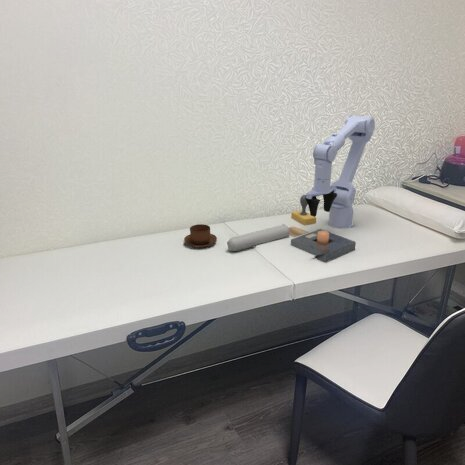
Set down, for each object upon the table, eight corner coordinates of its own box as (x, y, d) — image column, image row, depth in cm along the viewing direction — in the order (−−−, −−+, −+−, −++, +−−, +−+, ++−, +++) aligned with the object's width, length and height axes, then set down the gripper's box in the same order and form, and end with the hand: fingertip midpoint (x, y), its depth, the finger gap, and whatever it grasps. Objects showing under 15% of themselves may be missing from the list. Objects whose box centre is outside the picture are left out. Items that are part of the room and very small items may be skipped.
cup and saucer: (177, 246, 158) (177, 230, 155) (195, 235, 168) (195, 220, 165) (206, 252, 153) (205, 236, 150) (222, 240, 162) (222, 225, 160)
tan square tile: (293, 228, 173) (293, 226, 172) (308, 234, 167) (308, 232, 167) (278, 233, 168) (279, 231, 168) (294, 239, 162) (294, 237, 162)
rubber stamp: (290, 220, 182) (292, 192, 177) (302, 218, 184) (303, 190, 180) (304, 228, 174) (306, 199, 169) (316, 225, 176) (318, 197, 171)
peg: (321, 245, 158) (322, 229, 155) (330, 248, 155) (331, 233, 152) (314, 248, 155) (315, 232, 153) (322, 251, 152) (323, 236, 150)
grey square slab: (319, 236, 165) (320, 228, 164) (354, 249, 154) (355, 241, 153) (290, 247, 156) (290, 239, 155) (325, 262, 144) (326, 253, 143)
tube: (230, 256, 152) (288, 240, 163) (233, 244, 148) (291, 229, 160) (223, 247, 155) (280, 232, 167) (225, 235, 152) (283, 221, 163)
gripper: (327, 172, 163) (324, 206, 168) (300, 179, 155) (298, 214, 160) (342, 176, 158) (339, 211, 163) (315, 183, 150) (313, 220, 155)
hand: (320, 213), depth 161 cm, fingers open, 7 cm apart
